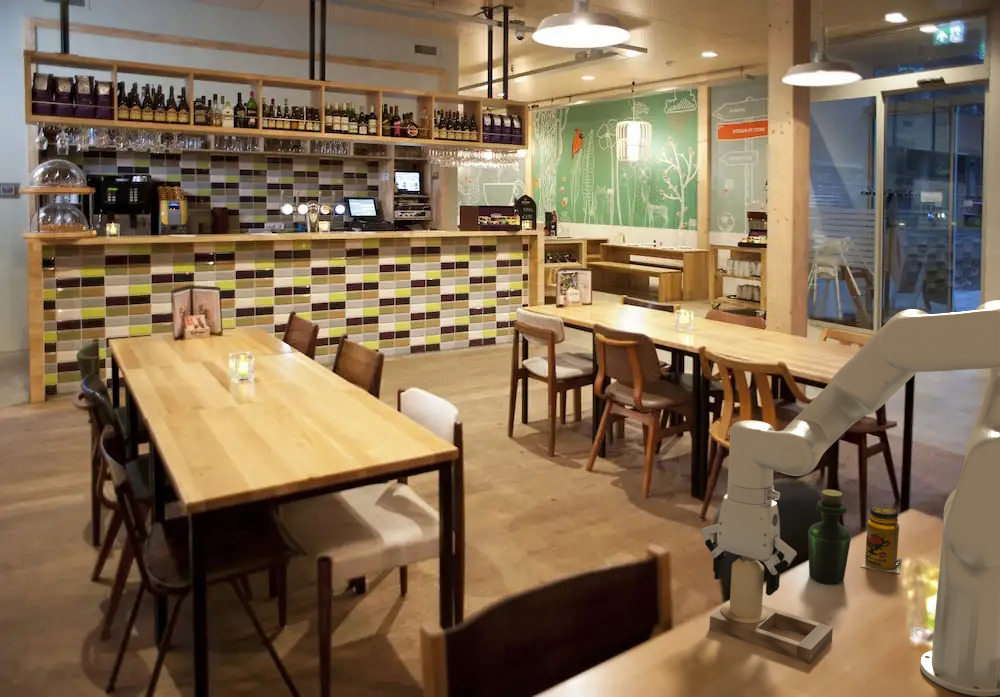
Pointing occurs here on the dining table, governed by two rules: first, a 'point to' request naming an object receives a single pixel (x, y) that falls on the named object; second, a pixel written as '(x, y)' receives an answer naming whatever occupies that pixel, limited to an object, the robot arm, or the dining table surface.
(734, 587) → the candle
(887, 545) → the condiment
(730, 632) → the wooden holder tray
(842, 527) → the potion bottle
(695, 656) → the dining table surface
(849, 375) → the robot arm
